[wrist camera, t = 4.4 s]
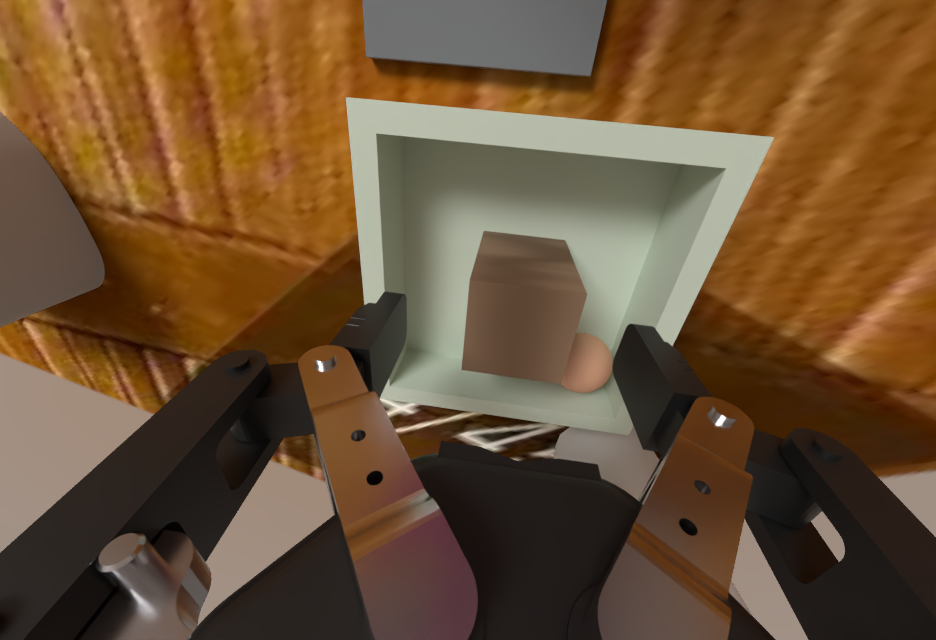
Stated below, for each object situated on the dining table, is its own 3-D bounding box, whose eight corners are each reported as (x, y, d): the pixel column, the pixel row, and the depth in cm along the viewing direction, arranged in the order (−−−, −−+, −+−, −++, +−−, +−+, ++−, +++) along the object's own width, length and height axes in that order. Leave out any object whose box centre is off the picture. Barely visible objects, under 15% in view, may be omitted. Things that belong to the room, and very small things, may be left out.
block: (565, 240, 16) (587, 294, 11) (548, 310, 19) (560, 384, 13) (483, 230, 17) (469, 279, 12) (476, 301, 19) (461, 370, 14)
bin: (711, 132, 14) (774, 137, 11) (610, 385, 21) (628, 435, 18) (384, 102, 15) (345, 97, 12) (394, 354, 22) (372, 397, 19)
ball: (612, 325, 18) (629, 361, 16) (596, 370, 20) (609, 410, 17) (554, 318, 19) (560, 352, 16) (542, 363, 20) (547, 401, 18)
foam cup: (561, 497, 28) (592, 748, 17) (511, 425, 24) (509, 683, 13) (686, 472, 25) (827, 763, 13) (650, 383, 21) (802, 682, 10)
